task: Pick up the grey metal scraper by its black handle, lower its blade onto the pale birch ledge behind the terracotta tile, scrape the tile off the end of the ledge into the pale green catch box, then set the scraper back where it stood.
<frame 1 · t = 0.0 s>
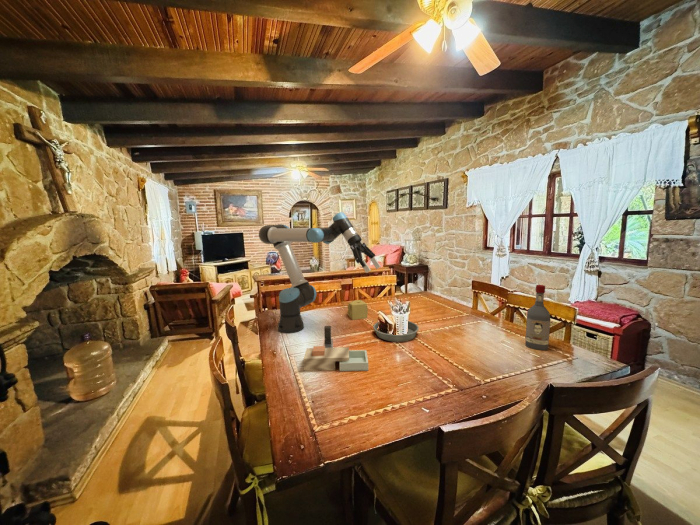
hand: (373, 269, 155), 36 cm above the table, tool tilted 35°, fingers open, 13 cm apart
scraper: (328, 350, 141), on the table
cake pan: (395, 334, 160), on the table
catch box: (353, 363, 127), on the table
liquor: (536, 346, 141), on the table
ledge: (327, 364, 127), on the table
cheese: (357, 317, 189), on the table
tile: (319, 352, 126), point 5 cm above the table, touching ledge
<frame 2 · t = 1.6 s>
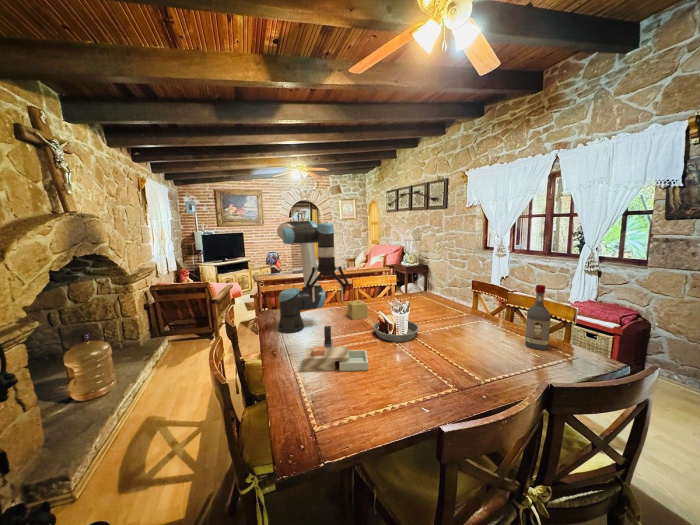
hand: (328, 300, 138), 25 cm above the table, tool pointing down, fingers open, 13 cm apart
nothing on the table moved.
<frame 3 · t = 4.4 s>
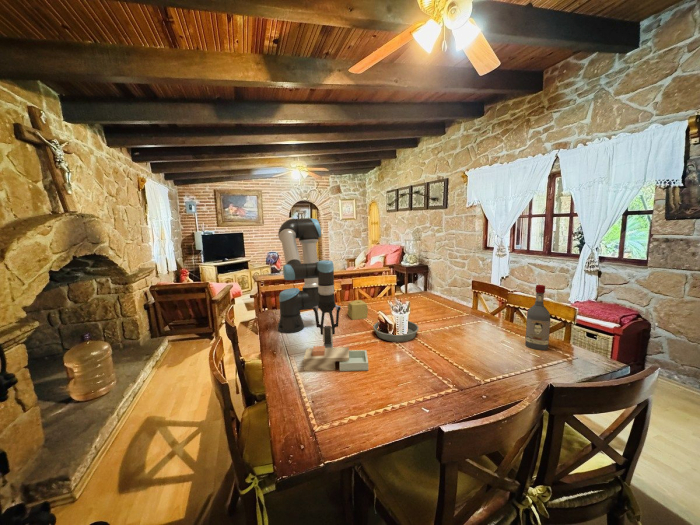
hand: (328, 340, 140), 5 cm above the table, tool pointing down, fingers closed on scraper, 3 cm apart
scraper: (328, 350, 141), on the table, touching gripper
everything else where it was.
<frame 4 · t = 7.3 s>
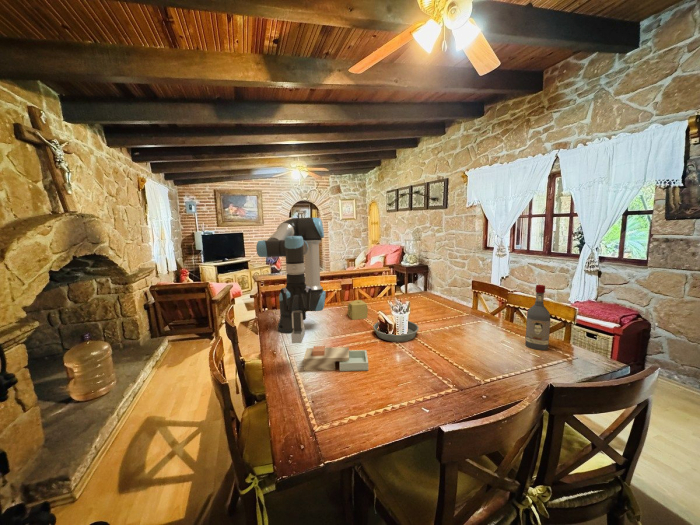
hand: (298, 327, 124), 18 cm above the table, tool pointing down, fingers closed on scraper, 3 cm apart
scraper: (298, 338, 125), point 13 cm above the table, touching gripper
everything else where it was.
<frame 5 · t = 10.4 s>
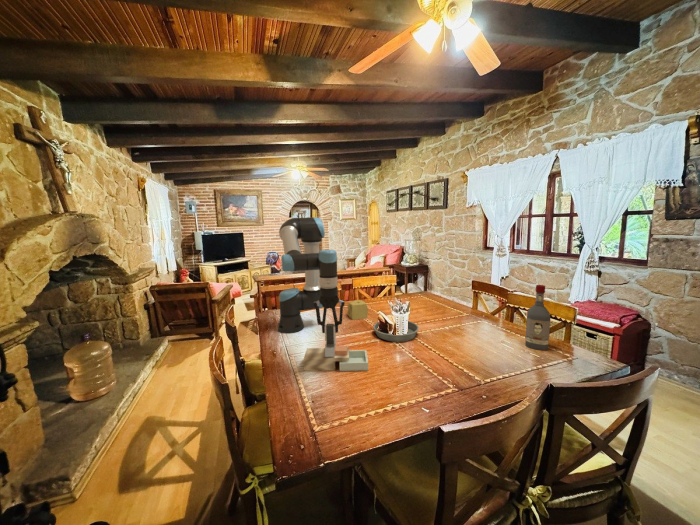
hand: (330, 339, 125), 12 cm above the table, tool pointing down, fingers closed on scraper, 3 cm apart
scraper: (330, 351, 126), point 6 cm above the table, touching gripper
tile: (341, 352, 126), point 6 cm above the table, touching ledge
everything else where it was.
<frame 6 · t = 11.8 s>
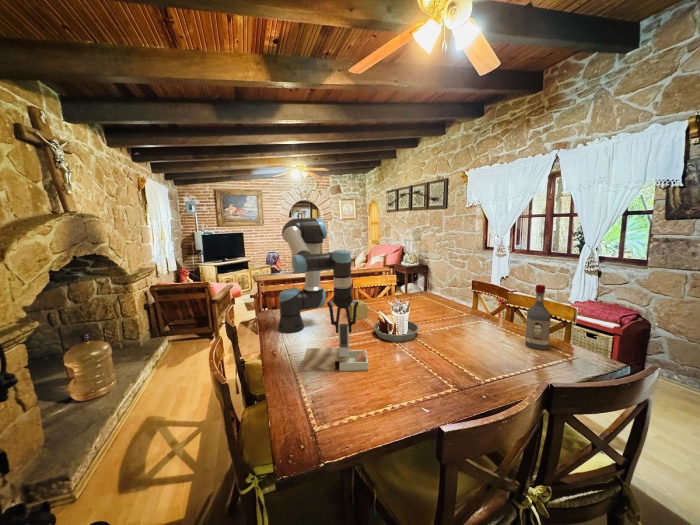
hand: (343, 339, 125), 11 cm above the table, tool pointing down, fingers closed on scraper, 3 cm apart
scraper: (344, 351, 126), point 6 cm above the table, touching gripper
tile: (358, 356, 126), point 4 cm above the table, tilted 137°, touching catch box
everything else where it was.
when the fingers open (6 cm above the table, at t = 16.9 s): scraper stays where it is, on the table.
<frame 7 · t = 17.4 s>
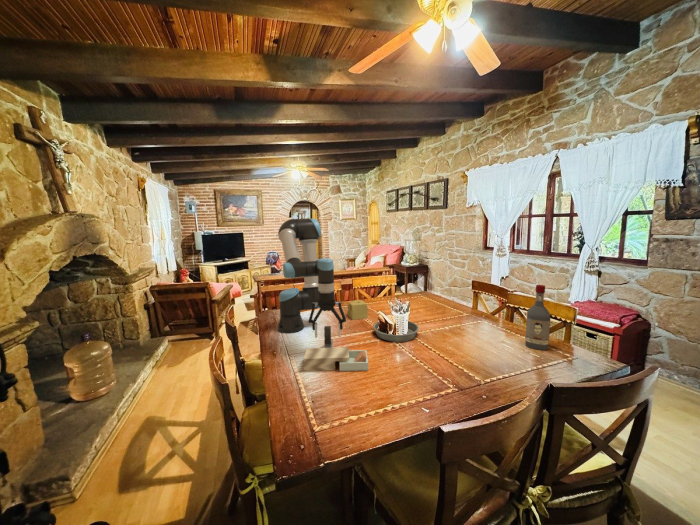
hand: (327, 336, 140), 7 cm above the table, tool pointing down, fingers open, 10 cm apart
scraper: (328, 350, 141), on the table
everything else where it was.
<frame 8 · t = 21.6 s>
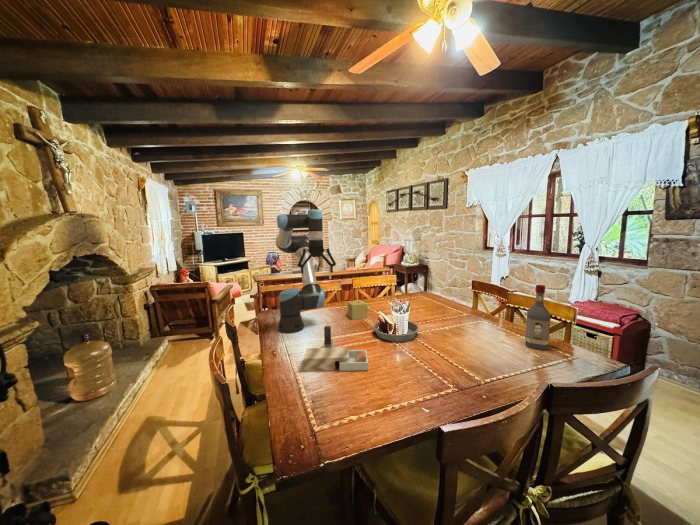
hand: (317, 279, 155), 32 cm above the table, tool pointing down, fingers open, 13 cm apart
nothing on the table moved.
at the end: tile inside the target area on the catch box (2.3 cm from its centre), point 3.6 cm above the catch box's base; scraper moved 0.1 cm from its start; scraper tilted 0° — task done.
